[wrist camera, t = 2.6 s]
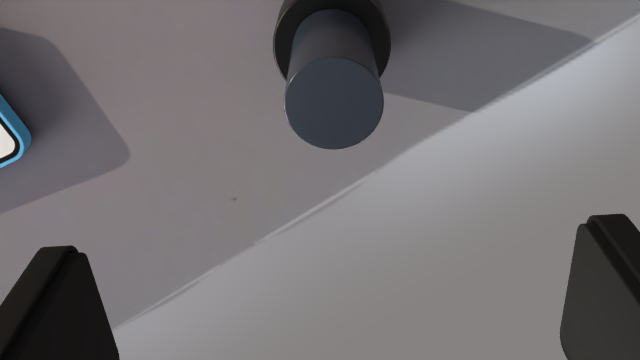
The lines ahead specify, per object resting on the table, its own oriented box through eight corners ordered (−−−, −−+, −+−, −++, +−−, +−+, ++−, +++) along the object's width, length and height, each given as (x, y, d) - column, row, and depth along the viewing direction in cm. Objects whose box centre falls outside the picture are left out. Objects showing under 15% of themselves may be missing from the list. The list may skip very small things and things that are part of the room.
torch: (383, -32, 26) (409, 25, 18) (385, 75, 28) (408, 166, 20) (272, -24, 26) (249, 36, 18) (283, 81, 28) (267, 175, 20)
